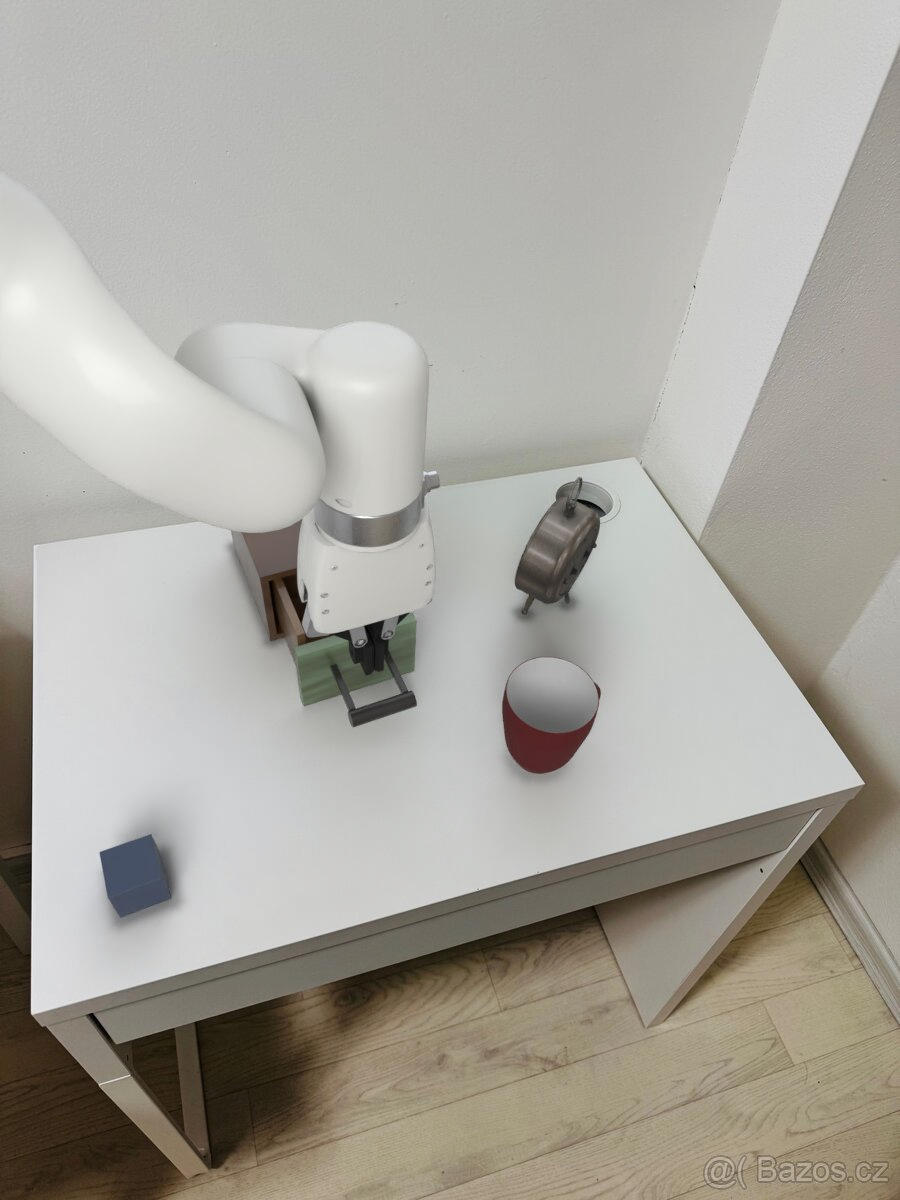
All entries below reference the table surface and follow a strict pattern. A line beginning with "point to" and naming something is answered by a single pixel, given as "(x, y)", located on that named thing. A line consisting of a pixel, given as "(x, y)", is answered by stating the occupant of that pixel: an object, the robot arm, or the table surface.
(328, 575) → the robot arm
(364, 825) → the table surface
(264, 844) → the table surface
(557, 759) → the mug
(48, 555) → the table surface
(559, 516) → the alarm clock
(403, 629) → the drawer
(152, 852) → the block
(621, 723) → the table surface
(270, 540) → the cabinet
